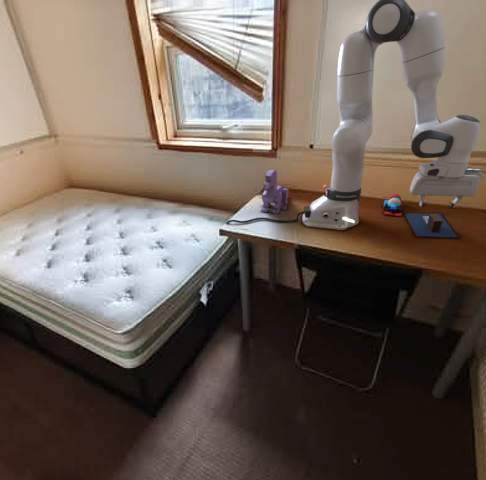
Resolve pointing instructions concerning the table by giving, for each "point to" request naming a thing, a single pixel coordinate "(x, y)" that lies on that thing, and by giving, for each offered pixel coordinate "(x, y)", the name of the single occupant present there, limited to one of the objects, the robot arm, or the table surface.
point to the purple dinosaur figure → (274, 193)
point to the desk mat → (423, 230)
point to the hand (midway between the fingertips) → (436, 206)
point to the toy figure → (393, 205)
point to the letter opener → (433, 222)
